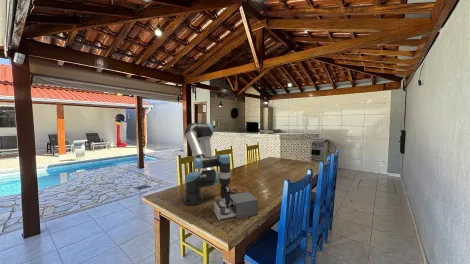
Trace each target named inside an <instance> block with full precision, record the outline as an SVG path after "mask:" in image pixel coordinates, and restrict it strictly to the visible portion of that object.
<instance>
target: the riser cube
mask: <svg viewBox="0 0 470 264" xmlns="http://www.w3.org/2000/svg"><path fill="white" fill-rule="evenodd" d="M221 200H222V198H221V195H220V196H215V198H214V202H216V204H217V205H218V207H219V209H220V208H221V206H220V203H219V202H220V201H221Z"/></svg>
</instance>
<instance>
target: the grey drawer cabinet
mask: <svg viewBox="0 0 470 264" xmlns="http://www.w3.org/2000/svg"><path fill="white" fill-rule="evenodd" d="M230 201H231V205H230V207H232V206H235V208H236V216H235V218H236V219H242V218H246V217H250V216H251V217H252V216H256V215H258V199H257V198H256V197H255V196H254V195H253V194H252V193H251V192H250V193H249V192H245V193H238V194H232V195H230Z"/></svg>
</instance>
